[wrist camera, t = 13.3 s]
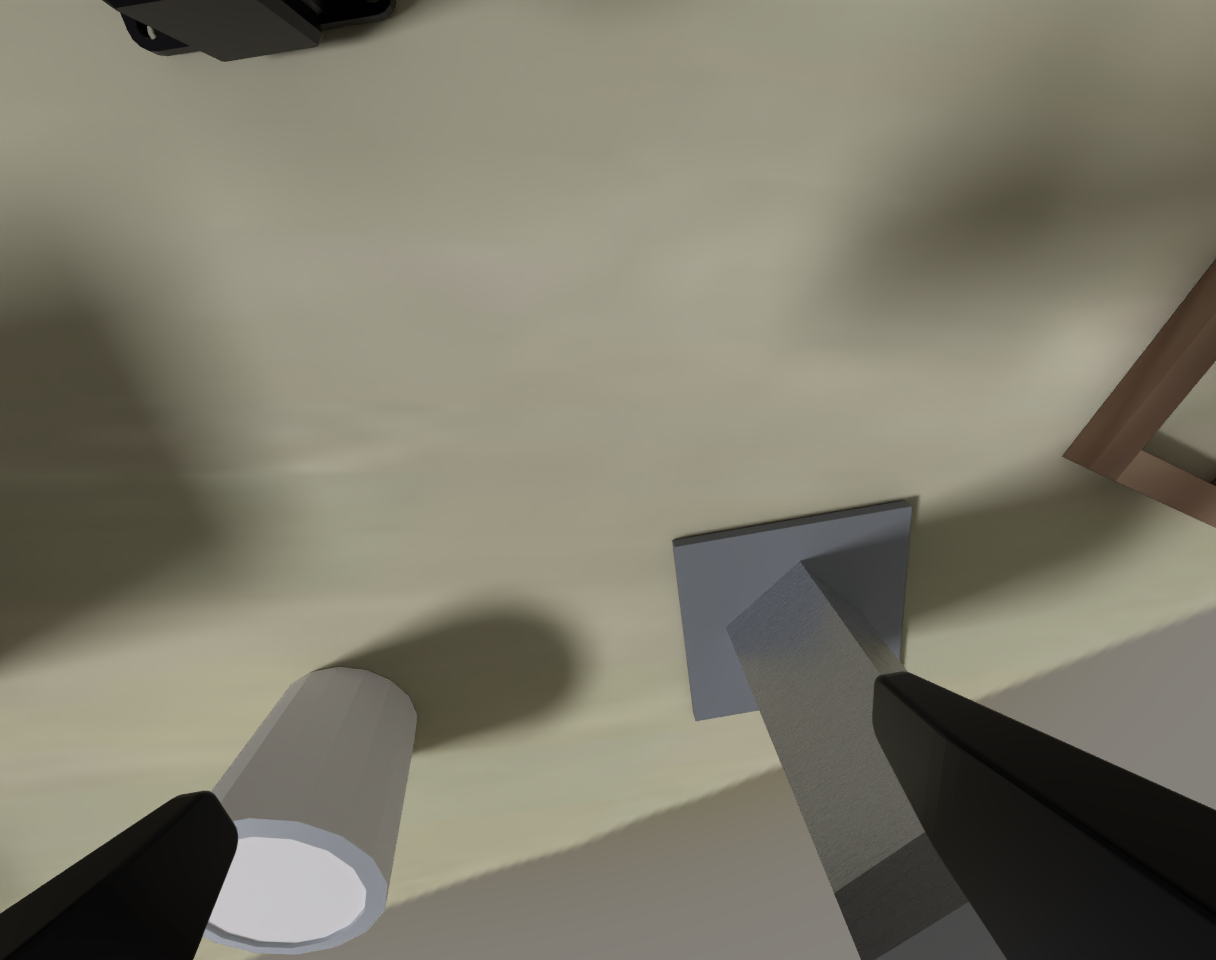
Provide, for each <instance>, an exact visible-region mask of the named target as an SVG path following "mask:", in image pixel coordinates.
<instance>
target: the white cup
mask: <svg viewBox="0 0 1216 960" xmlns="http://www.w3.org/2000/svg"><path fill="white" fill-rule="evenodd" d="M416 725H417V713H416V711H415V709H414V706H413V704H412V702H411V699H410V697H409V696H408V695H407V694H406V693H405V692H404V691H402V690H401V689H400V688H399V687H398V686H397V685H396V684H395V683H394V682H393V681H391V680H389V679H387V678H384V677H382V676H380V675H377V674H375V673H373V672H370V671H368V670H363V669H354V668H345V667H334V668H329V669H324V670H318V671H313V672H310V673H309V674H307V675H305V676H304V677H302V678H301V679H299V680H297V681H296V682H294V683H292V684H291V685H290V686H289V688H288V689H287V690H286V692H285V693H284V694H283V696H282V697H281V698H280V700H279V701H278V702H277V704H276V705H275V707H274V708H273V709H272V711H271V712H270V713H269V715H268V716H267V717H266V719H265V720H264V721H263V723H262V724H261V725H260V727H259V728H258V729H257V731H256V732H255V733H254V735H253V736H252V737H251V739H250V740H249V741H248V743H247V744H246V745H245V747H244V748H243V749H242V751H241V752H240V754H239V755H238V756H237V758H236V759H235V760H234V762H233V763H232V764H231V766H230V767H229V768H228V770H227V771H226V772H225V774H224V775H223V776H222V778H221V779H220V780H219V782H218V783H217V784H216V786H215V787H214V788H213V790H212V791H211V792H212V793H214V794H215V795H216V796H217V798H218V800H219V801H220V803H221V804H222V806H223V807H224V809H225V810H226V812H227V813H228V815H229V816H230V818H231V819H232V821H233V822H234V824H235V826H236V828H237V831H238V845H237V850H236V853H235V856H234V858H233V861H232V863H231V866H230V868H229V871H228V873H227V876H226V879H225V881H224V884H223V886H222V889H221V891H220V894H219V896H218V899H217V901H216V904H215V906H214V909H213V911H212V914H211V916H210V919H209V921H208V924H207V926H206V929H205V931H204V934H203V937H205V938H207V939H209V940H211V941H213V942H215V943H219V944H222V945H226V946H230V947H234V948H238V949H242V950H246V951H250V952H254V953H274V954H302V953H307V952H312V951H317V950H322V949H328V948H333V947H337V946H339V945H341V944H343V943H345V942H347V941H349V940H351V939H353V938H355V937H357V936H359V935H361V934H363V933H365V932H367V931H368V929H369V928H370V927H371V926H372V925H373V924H374V922H375V921H376V920H377V919H378V918H379V916H380V915H381V914H382V913H383V912H384V910H385V907H386V901H387V895H388V889H389V884H390V878H391V872H392V866H393V860H394V855H395V849H396V843H397V837H398V832H399V826H400V820H401V814H402V809H403V803H404V797H405V791H406V786H407V780H408V774H409V768H410V763H411V757H412V751H413V745H414V739H415V733H416Z"/></svg>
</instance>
